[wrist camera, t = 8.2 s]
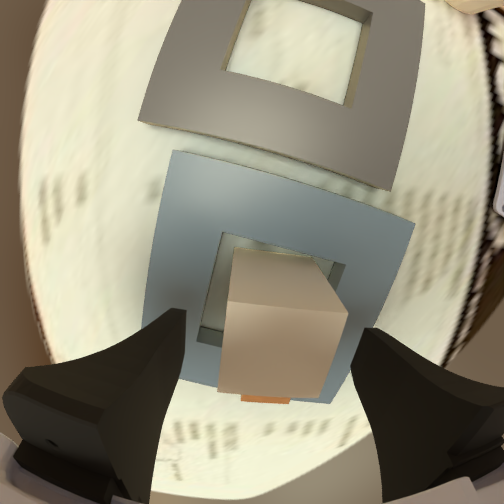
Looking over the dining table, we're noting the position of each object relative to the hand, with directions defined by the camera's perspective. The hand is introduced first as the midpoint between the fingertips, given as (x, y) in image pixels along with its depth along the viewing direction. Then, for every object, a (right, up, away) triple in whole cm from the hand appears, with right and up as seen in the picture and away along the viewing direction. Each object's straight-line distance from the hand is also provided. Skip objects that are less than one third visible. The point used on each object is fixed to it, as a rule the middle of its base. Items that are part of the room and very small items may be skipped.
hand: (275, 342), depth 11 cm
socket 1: (+1, +14, +1) cm, 14 cm away
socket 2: (0, +1, +4) cm, 5 cm away
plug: (0, +2, +4) cm, 5 cm away
